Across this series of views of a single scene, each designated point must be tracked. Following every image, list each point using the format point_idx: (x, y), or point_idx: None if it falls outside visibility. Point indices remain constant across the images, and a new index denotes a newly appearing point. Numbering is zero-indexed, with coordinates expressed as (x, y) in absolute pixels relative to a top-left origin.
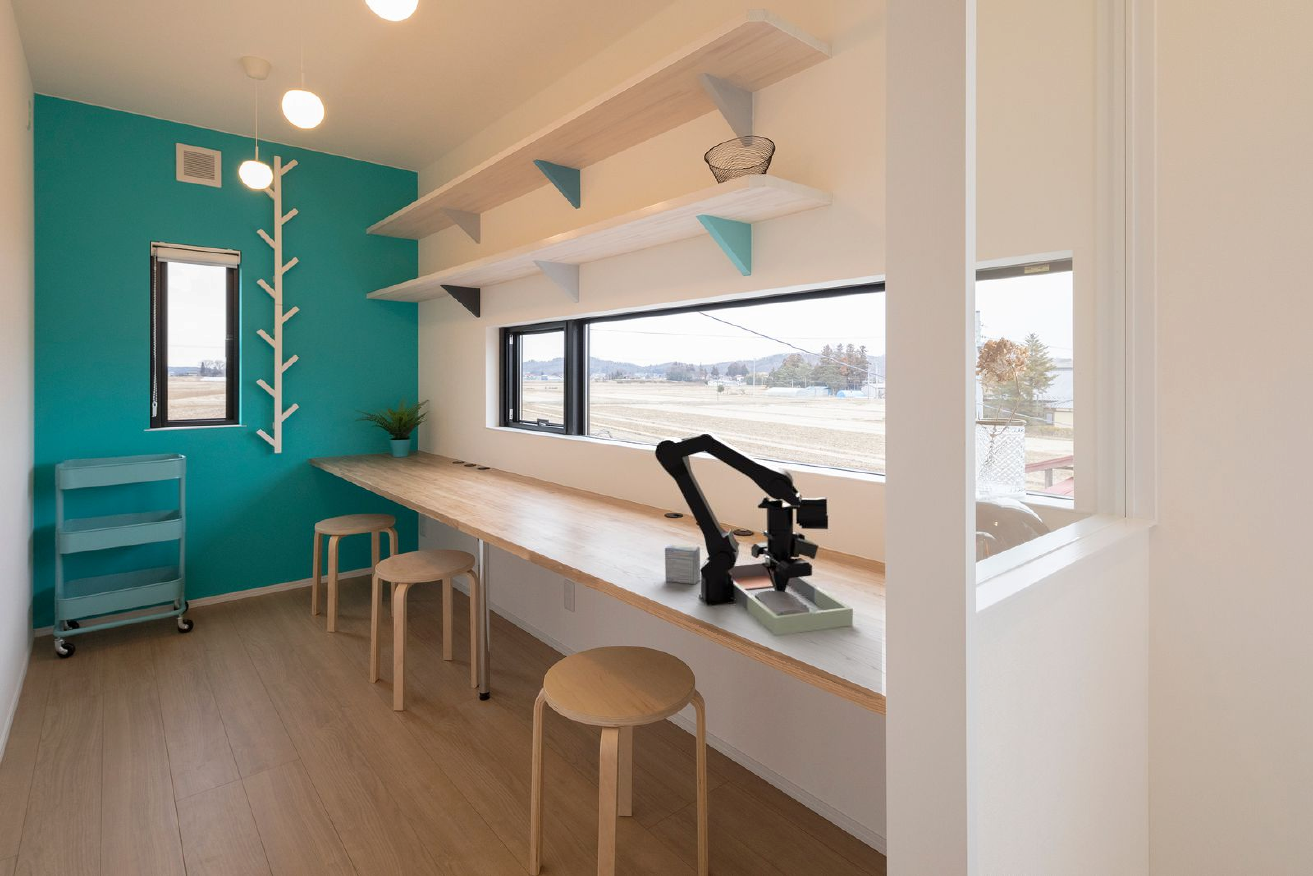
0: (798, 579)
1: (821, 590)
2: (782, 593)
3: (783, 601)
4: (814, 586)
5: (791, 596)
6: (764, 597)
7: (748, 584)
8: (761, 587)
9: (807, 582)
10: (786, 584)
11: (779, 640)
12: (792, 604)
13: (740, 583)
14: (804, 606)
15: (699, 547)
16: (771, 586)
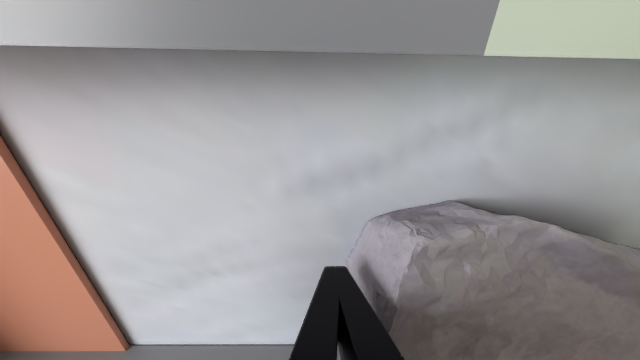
0: (30, 45)
1: (629, 15)
2: (431, 340)
3: (521, 357)
4: (442, 23)
5: (462, 289)
6: None
7: (14, 277)
8: (57, 238)
9: (244, 28)
10: (398, 353)
11: None
12: (592, 340)
13: (5, 301)
14: (630, 277)
15: None
16: (21, 180)
